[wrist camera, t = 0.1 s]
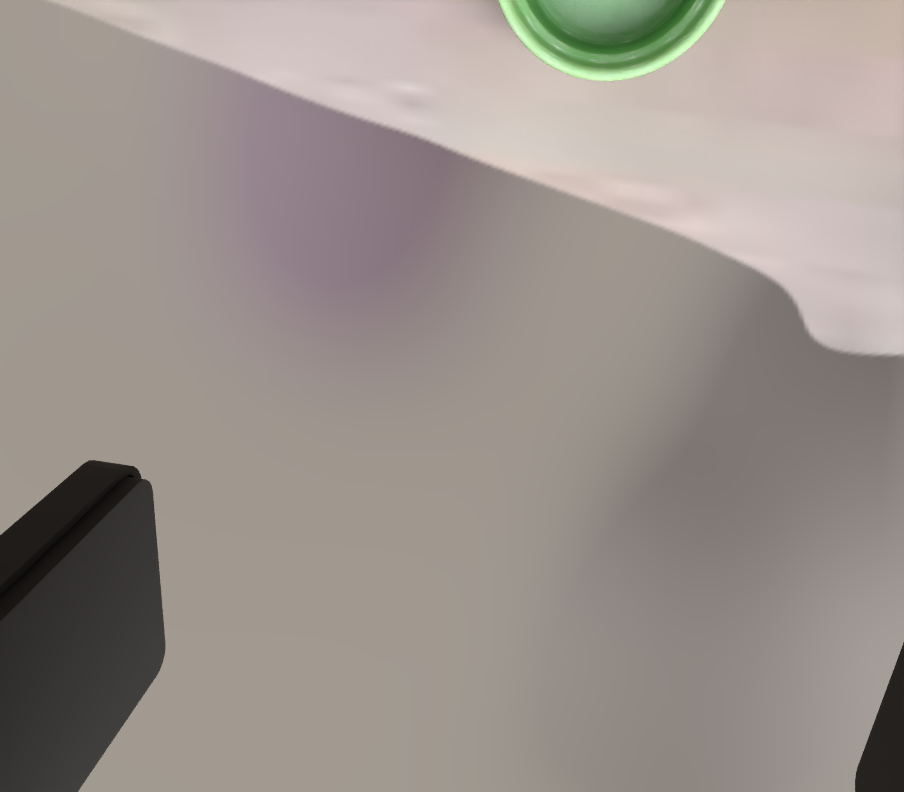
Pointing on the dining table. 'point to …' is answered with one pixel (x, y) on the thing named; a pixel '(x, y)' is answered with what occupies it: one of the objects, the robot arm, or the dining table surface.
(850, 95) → the dining table surface
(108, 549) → the robot arm
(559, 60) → the ramekin
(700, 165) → the dining table surface
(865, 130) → the dining table surface
